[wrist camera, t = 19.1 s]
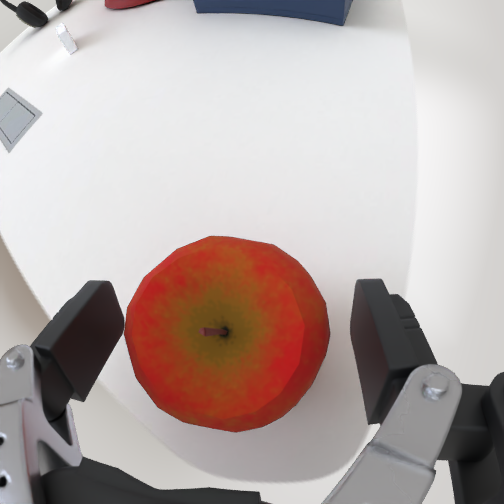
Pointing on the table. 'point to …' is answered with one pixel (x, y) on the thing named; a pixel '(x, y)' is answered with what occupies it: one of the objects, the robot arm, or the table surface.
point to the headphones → (34, 12)
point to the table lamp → (124, 3)
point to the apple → (227, 333)
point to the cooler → (281, 8)
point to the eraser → (66, 38)
